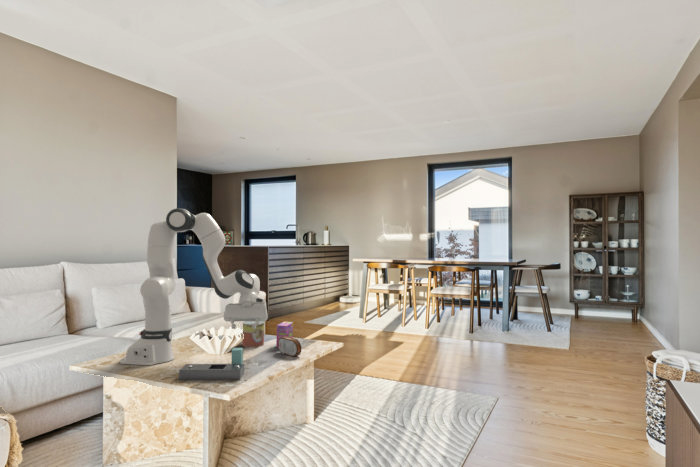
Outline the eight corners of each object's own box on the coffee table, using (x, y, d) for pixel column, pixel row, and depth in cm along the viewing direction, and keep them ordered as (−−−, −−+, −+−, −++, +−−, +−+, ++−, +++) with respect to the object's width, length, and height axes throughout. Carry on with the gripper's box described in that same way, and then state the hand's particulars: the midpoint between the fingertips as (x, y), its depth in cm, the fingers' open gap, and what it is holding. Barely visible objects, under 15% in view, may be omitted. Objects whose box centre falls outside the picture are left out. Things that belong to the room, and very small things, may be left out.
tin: (301, 357, 202) (302, 339, 203) (296, 358, 200) (297, 340, 200) (281, 351, 212) (282, 334, 213) (276, 352, 210) (277, 335, 210)
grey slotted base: (179, 380, 167) (179, 368, 167) (185, 373, 175) (186, 363, 175) (240, 379, 168) (240, 368, 169) (244, 373, 176) (244, 362, 177)
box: (286, 348, 218) (286, 325, 219) (276, 347, 219) (276, 325, 220) (293, 343, 229) (293, 321, 229) (283, 343, 230) (283, 321, 230)
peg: (231, 371, 179) (231, 350, 179) (233, 368, 183) (233, 347, 183) (240, 371, 179) (241, 350, 180) (242, 368, 183) (243, 347, 184)
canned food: (249, 348, 217) (249, 325, 217) (238, 344, 226) (238, 322, 226) (267, 345, 225) (268, 322, 225) (257, 341, 233) (257, 319, 233)
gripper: (225, 299, 201) (219, 324, 191) (268, 299, 202) (264, 324, 192) (227, 307, 206) (221, 332, 196) (269, 307, 206) (266, 331, 196)
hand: (243, 328), depth 194 cm, fingers open, 8 cm apart
